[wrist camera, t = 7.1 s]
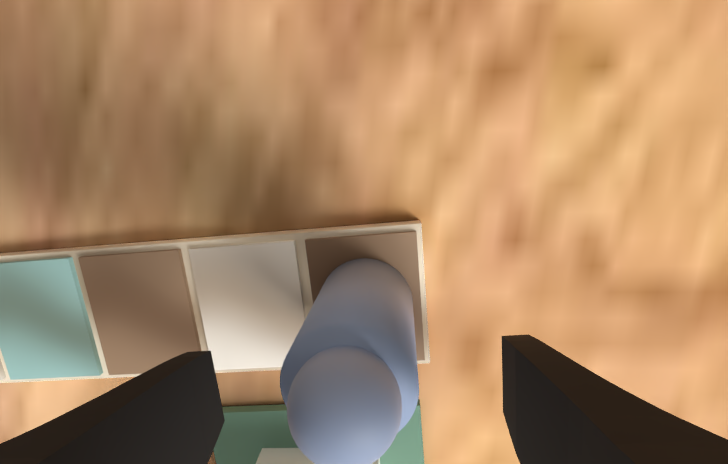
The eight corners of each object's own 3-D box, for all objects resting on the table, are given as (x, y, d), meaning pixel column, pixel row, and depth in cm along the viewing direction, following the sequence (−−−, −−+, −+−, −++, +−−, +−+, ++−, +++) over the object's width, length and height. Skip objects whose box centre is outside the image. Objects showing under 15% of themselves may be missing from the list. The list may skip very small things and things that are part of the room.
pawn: (412, 345, 14) (423, 523, 8) (323, 342, 15) (258, 512, 8) (412, 258, 14) (424, 374, 7) (318, 258, 14) (242, 369, 7)
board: (428, 354, 15) (430, 365, 15) (-64, 378, 17) (-86, 389, 17) (420, 220, 14) (421, 224, 13) (-108, 261, 16) (-133, 267, 15)
